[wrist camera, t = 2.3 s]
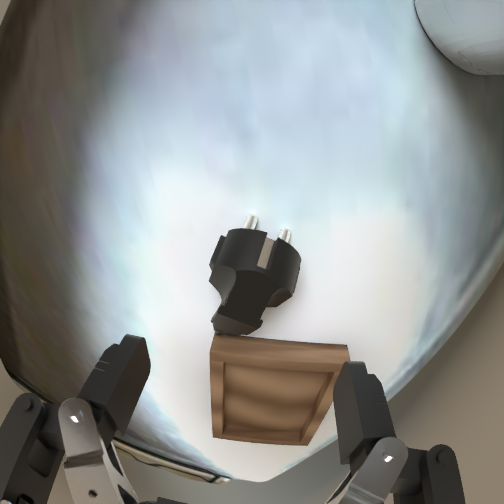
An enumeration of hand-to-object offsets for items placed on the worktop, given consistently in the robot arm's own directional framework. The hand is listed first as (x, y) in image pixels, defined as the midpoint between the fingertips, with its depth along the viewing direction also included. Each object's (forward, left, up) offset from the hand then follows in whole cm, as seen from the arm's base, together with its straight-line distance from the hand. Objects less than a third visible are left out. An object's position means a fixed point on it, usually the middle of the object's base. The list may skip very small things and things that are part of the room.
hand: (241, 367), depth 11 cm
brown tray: (+18, +3, -12) cm, 22 cm away
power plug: (+4, -1, -12) cm, 13 cm away
